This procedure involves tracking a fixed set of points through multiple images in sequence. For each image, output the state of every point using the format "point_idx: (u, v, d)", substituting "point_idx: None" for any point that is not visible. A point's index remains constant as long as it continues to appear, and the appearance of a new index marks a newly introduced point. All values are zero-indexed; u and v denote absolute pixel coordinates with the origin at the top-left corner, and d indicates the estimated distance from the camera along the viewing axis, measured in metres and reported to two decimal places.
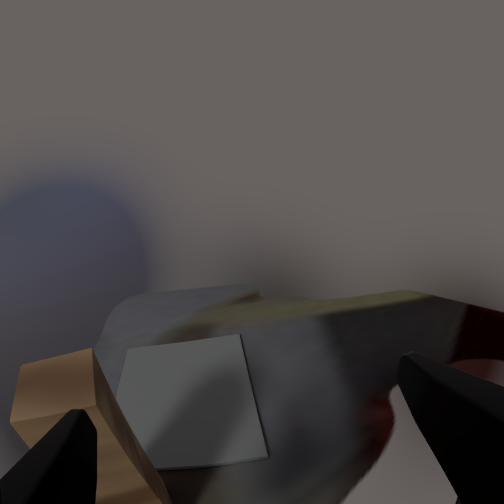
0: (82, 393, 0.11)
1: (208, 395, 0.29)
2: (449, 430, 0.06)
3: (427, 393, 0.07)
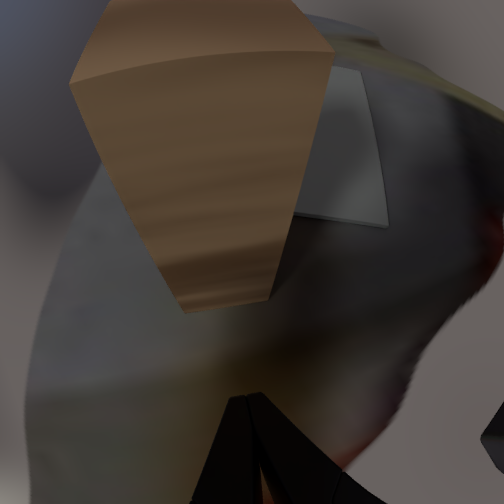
0: (287, 29, 0.05)
1: (323, 126, 0.23)
2: (274, 492, 0.05)
3: (257, 444, 0.06)
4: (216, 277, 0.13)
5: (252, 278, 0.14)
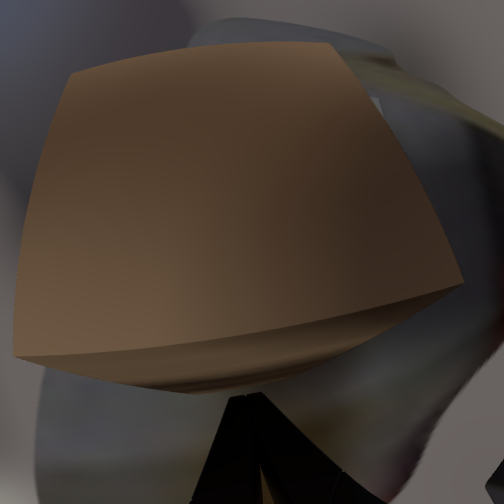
0: (388, 209, 0.03)
1: None
2: (274, 492, 0.05)
3: (257, 444, 0.06)
4: (234, 385, 0.11)
5: (273, 379, 0.12)
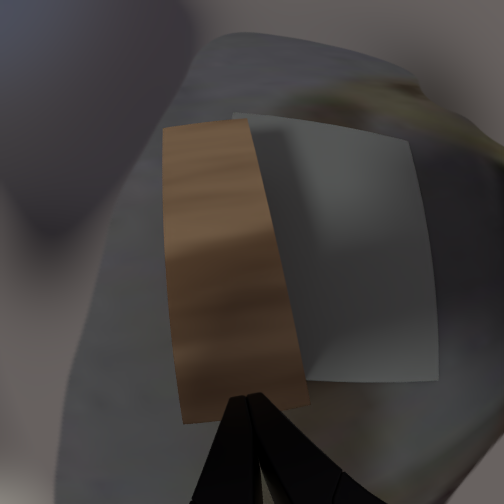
0: None
1: (372, 241, 0.18)
2: (274, 492, 0.05)
3: (257, 444, 0.06)
4: (220, 297, 0.12)
5: (264, 309, 0.12)
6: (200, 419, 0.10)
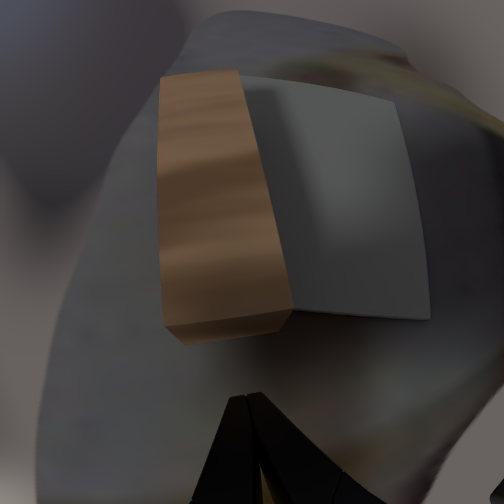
0: None
1: (358, 183, 0.19)
2: (274, 492, 0.05)
3: (257, 444, 0.06)
4: (207, 206, 0.13)
5: (248, 217, 0.12)
6: (182, 321, 0.11)
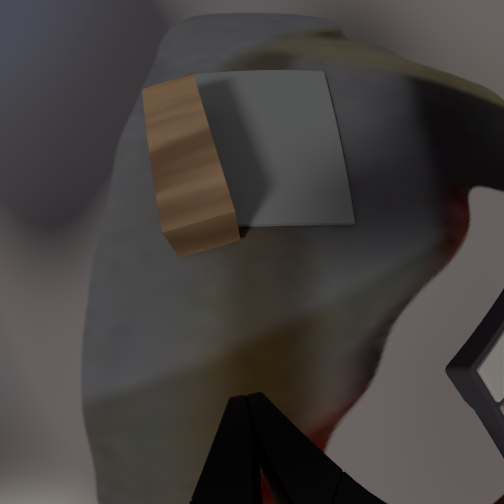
0: None
1: (291, 137, 0.26)
2: (274, 492, 0.05)
3: (257, 444, 0.06)
4: (180, 164, 0.20)
5: (205, 166, 0.20)
6: (172, 228, 0.19)
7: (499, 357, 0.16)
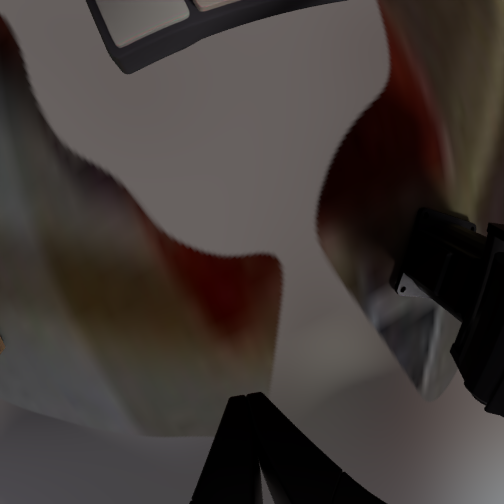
0: None
1: None
2: (274, 492, 0.05)
3: (257, 444, 0.06)
4: None
5: None
6: None
7: (121, 8, 0.11)
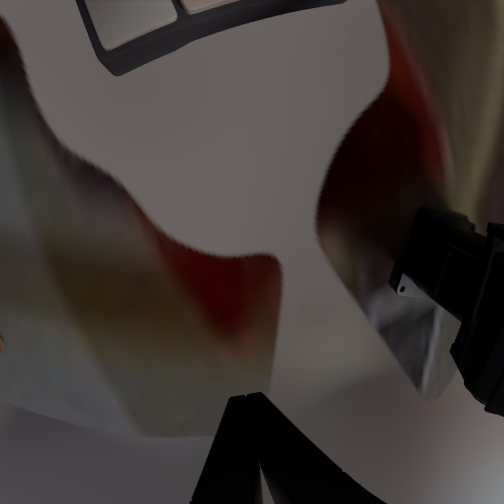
0: None
1: None
2: (274, 492, 0.05)
3: (257, 444, 0.06)
4: None
5: None
6: None
7: (110, 11, 0.11)
